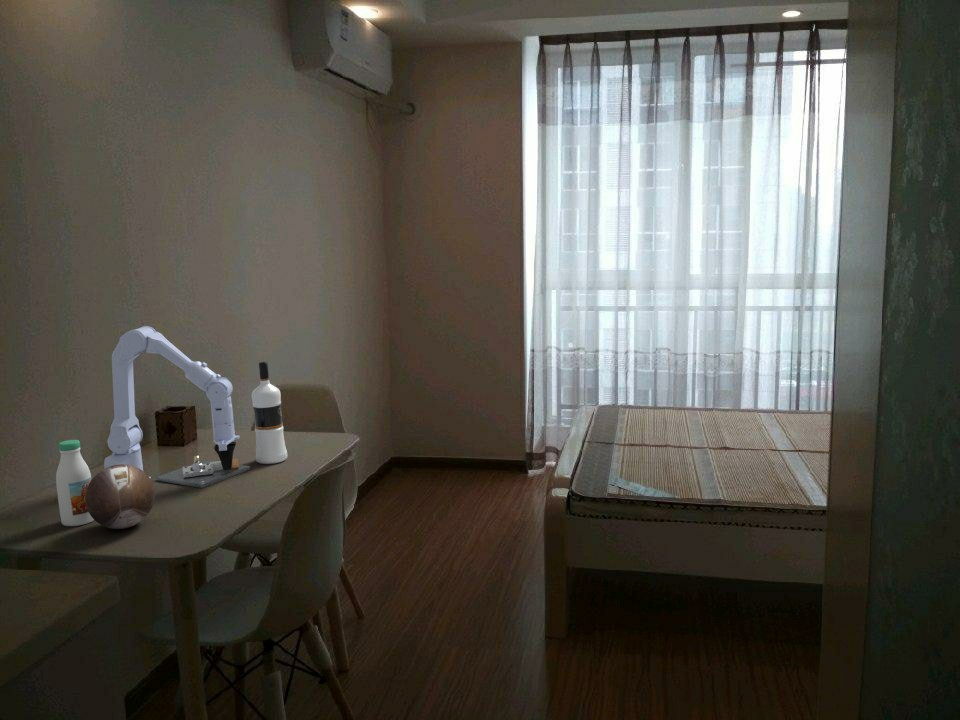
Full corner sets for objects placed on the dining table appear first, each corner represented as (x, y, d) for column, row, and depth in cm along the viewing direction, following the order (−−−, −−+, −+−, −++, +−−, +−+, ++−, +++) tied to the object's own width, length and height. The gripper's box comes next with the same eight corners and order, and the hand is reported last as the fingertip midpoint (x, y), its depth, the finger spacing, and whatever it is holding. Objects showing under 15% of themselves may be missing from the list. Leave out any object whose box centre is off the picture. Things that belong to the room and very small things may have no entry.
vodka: (251, 460, 246) (242, 362, 241) (281, 454, 251) (272, 358, 246) (262, 466, 238) (253, 365, 233) (292, 460, 243) (284, 361, 238)
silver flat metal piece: (183, 477, 226) (182, 470, 226) (183, 470, 234) (182, 463, 234) (239, 470, 232) (238, 462, 231) (237, 462, 239) (236, 455, 239)
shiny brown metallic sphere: (106, 543, 183) (98, 479, 181) (78, 529, 193) (70, 468, 191) (169, 524, 194) (162, 463, 192) (140, 511, 204) (133, 453, 202)
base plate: (201, 488, 221) (200, 475, 220) (156, 480, 229) (155, 468, 229) (250, 469, 236) (249, 457, 236) (206, 463, 245) (204, 451, 244)
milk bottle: (60, 529, 194) (49, 447, 190) (62, 519, 201) (52, 440, 197) (96, 523, 197) (86, 443, 193) (97, 513, 204) (87, 435, 200)
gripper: (236, 426, 221) (240, 474, 224) (239, 415, 235) (243, 460, 238) (208, 429, 220) (213, 477, 222) (213, 417, 234) (218, 463, 236)
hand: (227, 469), depth 230 cm, fingers closed
